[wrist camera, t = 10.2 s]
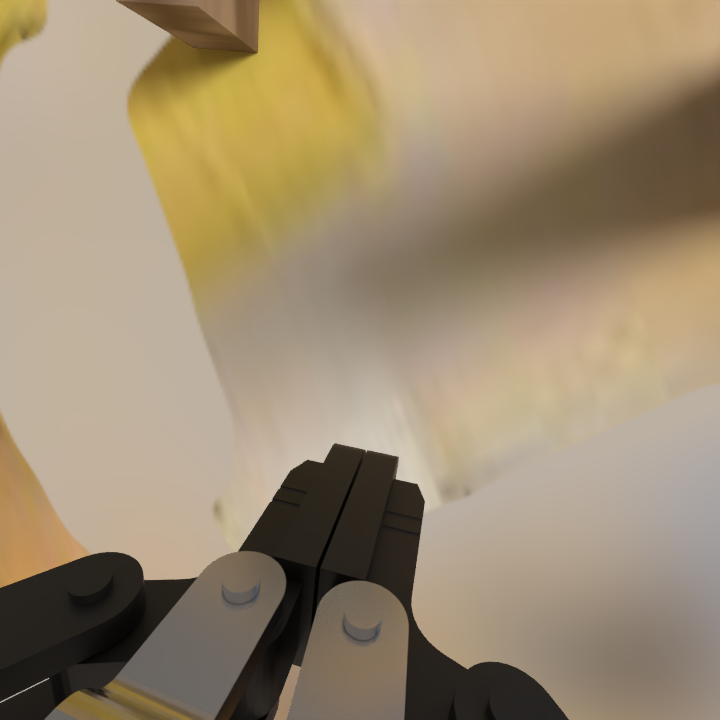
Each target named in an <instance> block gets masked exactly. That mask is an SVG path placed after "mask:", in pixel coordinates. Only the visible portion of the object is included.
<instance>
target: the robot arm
mask: <svg viewBox="0 0 720 720" xmlns="http://www.w3.org/2000/svg"><path fill="white" fill-rule="evenodd" d="M398 459H399V457H396V456H392V455H387V454H382V453H378V452H373V451H369V450H368V451H367V452H366V450H363V449H359V448H354V447H349V446H345V445H340V444H334V445H333V446H332V448H331V450H330V452H329V454H328V455H327V457H326V459H325V461H324V463H319V462H315V461H310V460H307V461H305V462H303V463H302V464H300V465H299V466H297V467H296V468H294V469H293V470H291V471H290V472H289V474H288V476H287V477H286V479H285V480H284V482H283V483H282V485H281V488H280V489H278V491H277V492H276V494H275V496H274V497H273V500H272V502H270V503H269V505H268V506H267V508H266V509H265V511H264V512H263V514H262V516H261V517H260V519H259V520H258V522H257V523H256V525H255V526H254V528H253V529H252V531H251V532H250V534H249V536H248V537H247V539H246V540H245V542H244V543H243V545H242V546H241V548H240V549H239V551H238V552H234V553H231V554H227V555H225V556H223V557H220V558H218V559H217V560H216V561H213V562H212V563H211V564H210V565H208V566H207V567H206V568H205V569H204V570H203V572H202V573H201V574H200V575H199V577H196V578H191V579H179V580H144V576H143V570H142V567H141V566H140V564H139V562H138V561H137V560H136V559H134V558H133V557H131V556H129V555H126V554H123V553H117V552H106V553H98V554H93V555H89V556H86V557H83V558H80V559H78V560H75V561H72V562H69V563H67V564H64V565H61V566H59V567H56V568H53V569H50V570H48V571H45V572H42V573H40V574H37V575H34V576H32V577H29V578H26V579H23V580H21V581H18V582H15V583H13V584H10V585H7V586H5V587H2V588H0V701H2V700H4V699H6V698H8V697H10V696H12V695H15V694H16V693H18V692H21V691H23V690H25V689H27V688H29V687H31V686H33V685H35V684H37V683H39V682H41V681H43V680H45V679H47V678H49V679H48V680H46V681H44V682H42V683H40V684H38V685H36V686H34V687H32V688H30V689H28V690H26V691H24V692H22V693H20V694H18V695H16V696H14V697H12V698H10V699H8V700H6V701H4V702H2V703H0V720H274V717H275V715H276V712H277V710H278V705H279V697H280V695H281V693H282V690H283V687H284V684H285V682H286V679H287V676H288V674H289V671H290V668H291V666H292V664H293V665H297V666H300V667H301V670H300V673H299V677H298V681H297V684H296V687H295V691H294V695H293V698H292V702H291V706H290V709H289V713H288V717H287V720H569V719H568V718H567V717H566V716H565V714H564V713H563V712H562V710H561V709H560V708H559V707H558V705H557V704H556V703H555V701H554V700H553V699H552V698H551V696H550V695H549V694H548V693H547V692H546V690H544V688H543V687H542V686H541V685H540V684H538V682H536V681H535V680H534V679H533V678H532V677H530V676H529V675H527V674H526V673H525V672H523V671H521V670H519V669H517V668H515V667H513V666H510V665H507V664H503V663H499V662H484V663H479V664H476V665H474V666H472V667H471V668H469V669H466V668H464V667H463V666H461V665H460V664H458V663H456V662H455V661H453V660H452V659H450V658H449V657H447V656H446V655H444V654H443V653H441V652H440V651H439V650H437V649H436V648H435V647H434V646H433V645H432V644H431V643H429V641H428V640H427V639H426V638H425V637H424V636H423V634H422V633H421V631H420V630H419V628H418V626H417V624H416V622H415V620H414V617H413V613H412V607H411V598H412V590H413V583H414V576H415V568H416V561H417V554H418V547H419V540H420V533H421V525H422V518H423V511H424V504H425V501H424V498H423V496H422V494H421V491H420V489H419V487H418V485H417V484H414V483H409V482H405V481H400V480H396V473H397V467H398Z"/></svg>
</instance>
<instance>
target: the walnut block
mask: <svg viewBox="0 0 720 720" xmlns="http://www.w3.org/2000/svg"><path fill="white" fill-rule="evenodd" d="M116 1H117V2H119V3H121V4H122V5H124V6H126V7H127V8H129V9H131V10H132V11H134V12H136V13H138V14H139V15H141V16H142V17H144V18H146V19H147V20H149V21H150V22H152V23H154V24H155V25H157V26H159V27H160V28H162V29H164V30H165V31H167V32H169V33H170V34H172V35H174V36H175V37H177V38H179V39H180V40H182V41H183V42H185V43H187V44H188V45H190V46H192V47H193V48H205V49H217V50H229V51H241V52H253V53H258V26H259V0H116Z"/></svg>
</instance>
